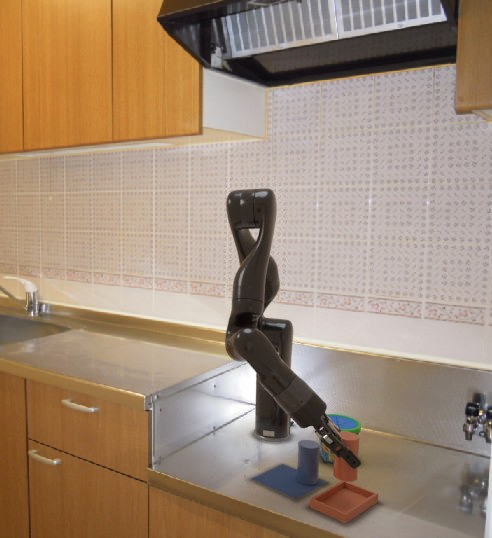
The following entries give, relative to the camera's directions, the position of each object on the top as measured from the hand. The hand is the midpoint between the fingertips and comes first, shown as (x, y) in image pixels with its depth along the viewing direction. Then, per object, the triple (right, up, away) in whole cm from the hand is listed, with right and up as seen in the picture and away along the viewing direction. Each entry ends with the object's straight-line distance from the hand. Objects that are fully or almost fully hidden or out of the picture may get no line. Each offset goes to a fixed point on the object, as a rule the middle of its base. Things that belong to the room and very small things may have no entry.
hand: (355, 459), depth 121 cm
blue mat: (-11, -9, +12) cm, 19 cm away
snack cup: (+4, -8, +24) cm, 25 cm away
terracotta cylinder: (-2, -4, +1) cm, 4 cm away
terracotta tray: (-2, -10, +2) cm, 11 cm away
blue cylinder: (-7, -9, +12) cm, 16 cm away
